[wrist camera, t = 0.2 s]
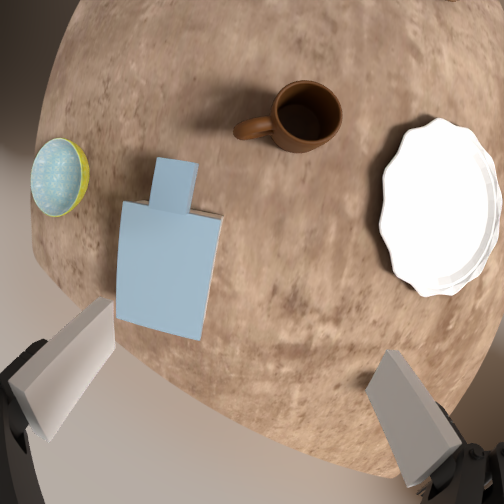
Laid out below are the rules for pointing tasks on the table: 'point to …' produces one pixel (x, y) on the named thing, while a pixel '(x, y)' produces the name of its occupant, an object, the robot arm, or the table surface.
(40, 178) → the bowl
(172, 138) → the table surface
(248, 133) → the mug
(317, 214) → the table surface
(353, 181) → the table surface
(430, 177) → the plate
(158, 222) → the lid
